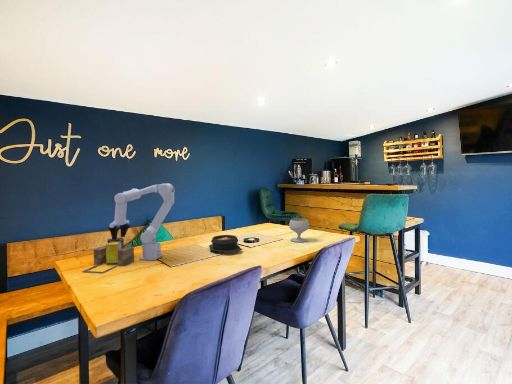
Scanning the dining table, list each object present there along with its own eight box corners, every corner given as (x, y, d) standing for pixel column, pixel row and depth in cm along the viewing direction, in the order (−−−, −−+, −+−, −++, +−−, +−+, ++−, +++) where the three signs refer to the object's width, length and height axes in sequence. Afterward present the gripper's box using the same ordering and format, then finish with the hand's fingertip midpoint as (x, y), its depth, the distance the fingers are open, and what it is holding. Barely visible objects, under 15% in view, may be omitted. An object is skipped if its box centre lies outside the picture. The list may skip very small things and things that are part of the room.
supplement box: (110, 261, 155) (110, 241, 154) (122, 261, 156) (121, 241, 155) (106, 264, 149) (105, 244, 149) (118, 264, 150) (117, 243, 149)
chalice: (312, 239, 203) (312, 219, 203) (304, 243, 192) (304, 221, 191) (294, 237, 211) (294, 217, 210) (285, 241, 199) (285, 220, 198)
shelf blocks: (134, 261, 155) (133, 246, 154) (125, 265, 147) (124, 250, 146) (104, 259, 158) (104, 245, 157) (94, 264, 150) (93, 249, 149)
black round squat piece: (249, 252, 172) (248, 238, 172) (222, 257, 161) (222, 243, 160) (226, 244, 192) (226, 232, 191) (201, 249, 180) (201, 236, 180)
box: (109, 259, 160) (108, 240, 159) (107, 256, 165) (107, 238, 164) (124, 256, 164) (123, 238, 164) (122, 254, 169) (122, 236, 168)
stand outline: (117, 266, 146) (117, 265, 146) (103, 273, 136) (103, 272, 136) (98, 265, 148) (98, 264, 148) (82, 272, 138) (82, 271, 137)
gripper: (122, 212, 167) (120, 234, 168) (105, 214, 153) (103, 239, 153) (133, 213, 166) (131, 236, 167) (117, 216, 152) (115, 241, 152)
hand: (118, 238), depth 160 cm, fingers open, 7 cm apart
